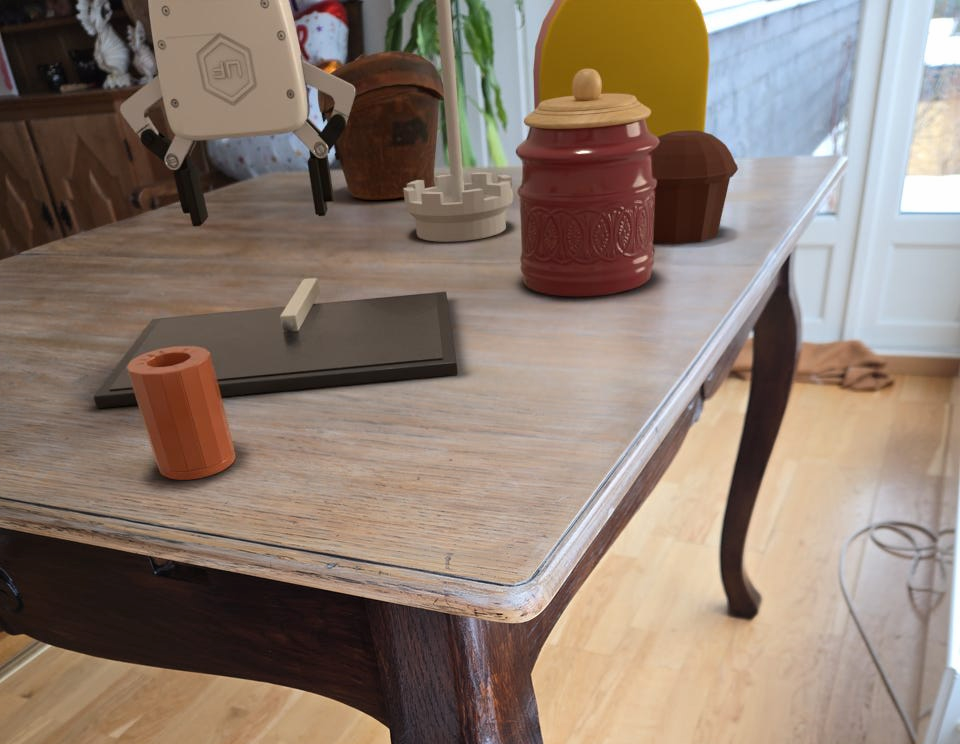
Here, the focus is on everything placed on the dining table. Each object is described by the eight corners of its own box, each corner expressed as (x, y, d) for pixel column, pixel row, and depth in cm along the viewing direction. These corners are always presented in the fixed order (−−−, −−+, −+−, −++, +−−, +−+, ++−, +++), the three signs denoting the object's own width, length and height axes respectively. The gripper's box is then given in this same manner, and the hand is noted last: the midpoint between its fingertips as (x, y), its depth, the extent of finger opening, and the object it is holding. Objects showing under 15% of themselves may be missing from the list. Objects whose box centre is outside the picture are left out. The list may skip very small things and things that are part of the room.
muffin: (606, 237, 101) (607, 137, 95) (671, 218, 107) (676, 123, 101) (688, 252, 94) (695, 144, 88) (753, 231, 99) (764, 128, 93)
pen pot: (151, 483, 57) (117, 377, 53) (168, 450, 61) (137, 349, 57) (229, 476, 57) (201, 369, 53) (240, 443, 61) (215, 342, 57)
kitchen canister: (619, 304, 81) (624, 75, 70) (496, 292, 87) (484, 79, 76) (674, 267, 89) (685, 58, 79) (559, 258, 95) (556, 63, 85)
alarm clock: (685, 180, 125) (699, -58, 109) (702, 192, 117) (719, -61, 102) (536, 193, 125) (529, -43, 109) (543, 206, 117) (536, -45, 102)
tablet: (97, 409, 69) (92, 395, 68) (154, 329, 85) (151, 317, 84) (457, 374, 69) (456, 360, 68) (447, 301, 85) (446, 290, 85)
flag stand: (510, 240, 103) (494, -93, 86) (400, 246, 105) (362, -80, 87) (517, 216, 114) (504, -86, 96) (417, 221, 115) (386, -74, 98)
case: (381, 178, 144) (365, 46, 134) (479, 184, 134) (470, 40, 123) (301, 201, 133) (276, 58, 123) (401, 208, 123) (384, 54, 112)
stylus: (277, 319, 76) (303, 278, 86) (280, 336, 77) (306, 293, 87) (293, 318, 76) (317, 277, 86) (296, 335, 77) (320, 292, 87)
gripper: (65, -47, 57) (141, 237, 68) (333, -67, 58) (368, 218, 68) (97, -44, 63) (162, 217, 74) (339, -62, 64) (371, 200, 74)
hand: (261, 217), depth 71 cm, fingers open, 9 cm apart
